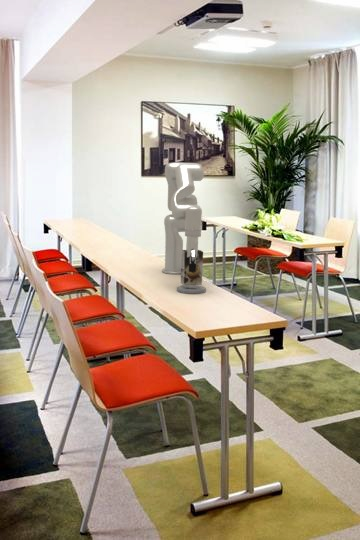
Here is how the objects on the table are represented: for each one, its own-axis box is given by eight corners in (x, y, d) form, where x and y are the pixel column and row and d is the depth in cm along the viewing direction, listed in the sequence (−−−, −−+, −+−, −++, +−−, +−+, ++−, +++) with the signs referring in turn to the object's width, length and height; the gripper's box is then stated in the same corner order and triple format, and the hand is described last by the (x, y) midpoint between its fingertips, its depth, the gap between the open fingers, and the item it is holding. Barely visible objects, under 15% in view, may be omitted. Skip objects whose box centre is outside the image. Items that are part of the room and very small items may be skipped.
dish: (176, 287, 301) (176, 284, 300) (204, 287, 301) (204, 284, 301) (177, 293, 287) (177, 290, 287) (207, 294, 288) (207, 291, 287)
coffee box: (183, 285, 289) (184, 251, 286) (180, 282, 296) (181, 249, 292) (202, 285, 292) (203, 251, 289) (198, 282, 298) (199, 249, 295)
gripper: (184, 230, 297) (182, 266, 301) (185, 235, 280) (184, 273, 284) (199, 230, 298) (198, 266, 301) (202, 235, 280) (201, 274, 284)
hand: (191, 269), depth 292 cm, fingers closed on coffee box, 7 cm apart
